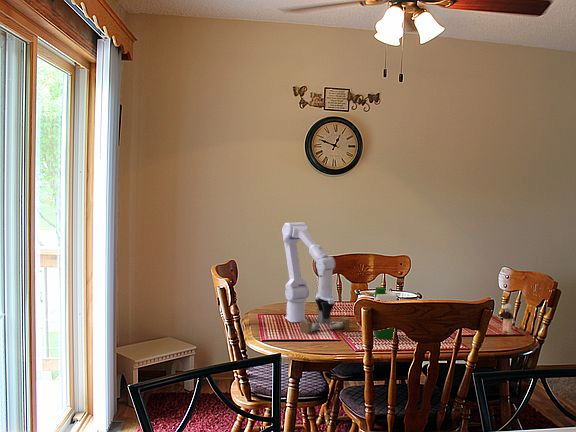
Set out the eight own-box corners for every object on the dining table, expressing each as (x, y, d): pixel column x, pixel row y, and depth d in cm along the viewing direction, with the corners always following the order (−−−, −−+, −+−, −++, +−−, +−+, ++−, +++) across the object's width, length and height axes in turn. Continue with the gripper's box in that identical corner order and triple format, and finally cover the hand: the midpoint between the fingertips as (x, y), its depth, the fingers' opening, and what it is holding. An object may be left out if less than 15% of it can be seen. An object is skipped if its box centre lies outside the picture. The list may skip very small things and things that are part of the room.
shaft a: (332, 330, 245) (333, 320, 244) (328, 327, 249) (328, 317, 249) (349, 329, 247) (349, 319, 247) (344, 326, 252) (344, 316, 252)
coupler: (326, 320, 248) (326, 309, 248) (330, 323, 245) (330, 311, 244) (317, 321, 247) (318, 309, 247) (321, 323, 243) (322, 312, 243)
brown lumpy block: (313, 328, 247) (313, 318, 247) (321, 331, 243) (321, 321, 243) (300, 331, 242) (300, 321, 242) (307, 334, 238) (308, 323, 238)
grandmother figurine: (517, 334, 246) (518, 304, 245) (513, 335, 243) (514, 305, 242) (499, 330, 251) (500, 301, 251) (495, 331, 249) (496, 302, 248)
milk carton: (371, 333, 242) (373, 285, 240) (393, 333, 242) (394, 286, 241) (374, 339, 233) (376, 290, 232) (397, 339, 233) (399, 290, 232)
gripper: (310, 282, 250) (309, 313, 251) (322, 289, 237) (322, 321, 238) (325, 282, 253) (324, 313, 254) (338, 288, 239) (337, 320, 240)
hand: (324, 317), depth 246 cm, fingers closed on coupler, 4 cm apart
